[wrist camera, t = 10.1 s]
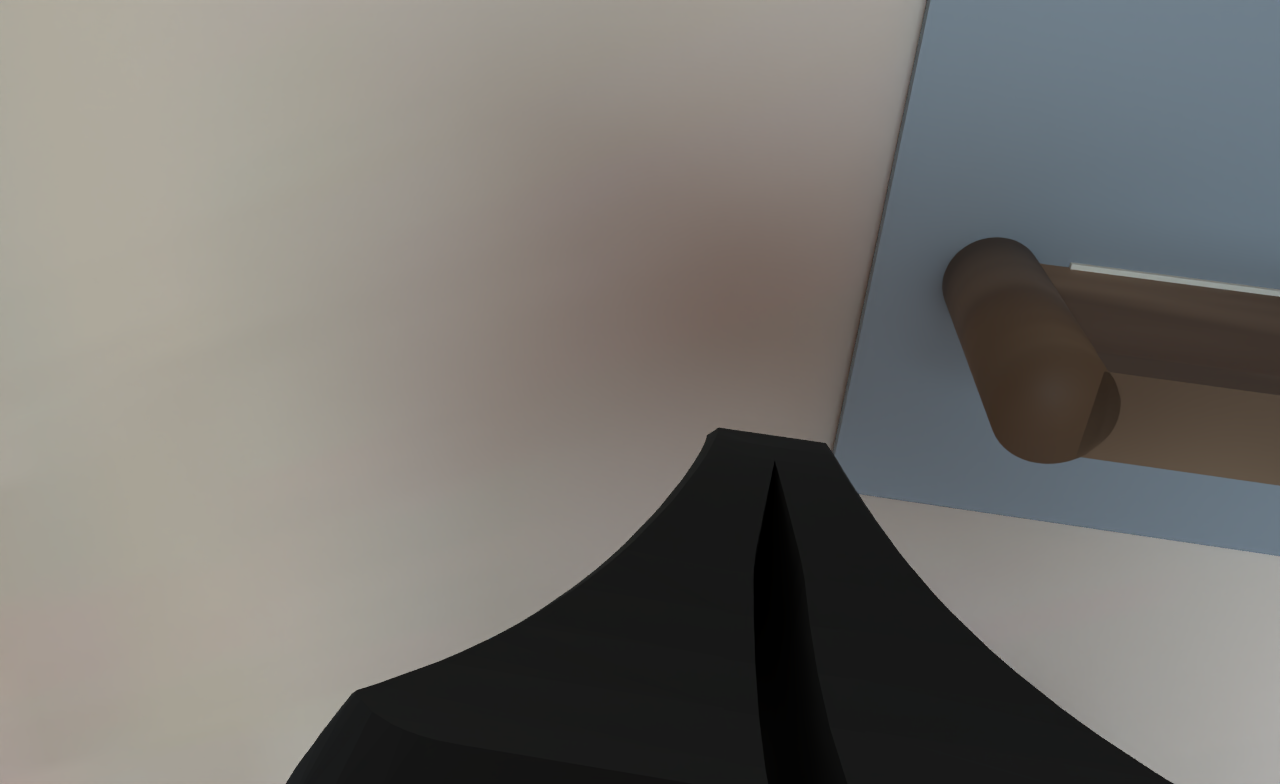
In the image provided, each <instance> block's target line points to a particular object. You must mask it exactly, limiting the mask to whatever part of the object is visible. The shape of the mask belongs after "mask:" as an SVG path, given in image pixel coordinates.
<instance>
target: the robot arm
mask: <svg viewBox="0 0 1280 784" xmlns="http://www.w3.org/2000/svg"><path fill="white" fill-rule="evenodd" d="M286 784H1173V783H1172V782H1170V781H1168V780H1166V779H1165V778H1163V777H1162V776H1160V775H1158V774H1157V773H1155V772H1154V771H1152V770H1150V769H1149V768H1147V767H1146V766H1144V765H1143V764H1141V763H1140V762H1138V761H1137V760H1135V759H1134V758H1132V757H1131V756H1129V755H1128V754H1126V753H1125V752H1123V751H1122V750H1120V749H1119V748H1117V747H1116V746H1114V745H1113V744H1111V743H1110V742H1108V741H1107V740H1105V739H1104V738H1102V737H1100V736H1099V735H1098V734H1096V733H1095V732H1093V731H1092V730H1091V729H1089V728H1088V727H1086V726H1085V725H1084V724H1082V723H1081V722H1079V721H1078V720H1077V719H1075V718H1074V717H1073V716H1071V715H1070V714H1068V713H1067V712H1066V711H1064V710H1063V709H1062V708H1060V707H1059V706H1058V705H1056V704H1055V703H1054V702H1053V701H1051V700H1050V699H1049V698H1048V697H1046V696H1045V695H1044V694H1043V693H1041V692H1040V691H1039V690H1038V689H1036V688H1035V687H1034V686H1033V685H1031V684H1030V683H1029V682H1028V681H1026V680H1025V679H1024V678H1023V677H1021V676H1020V675H1019V674H1018V673H1016V672H1015V671H1014V670H1013V669H1012V668H1010V667H1009V666H1008V665H1007V664H1006V663H1005V662H1004V661H1002V660H1001V659H1000V658H999V657H998V656H997V655H996V654H994V653H993V652H992V651H991V650H990V649H989V648H988V647H987V646H986V645H985V644H984V643H983V642H982V641H981V640H979V639H978V638H977V637H976V636H975V635H974V634H973V633H972V632H971V631H970V630H969V629H968V628H967V627H966V626H965V625H964V624H963V623H962V622H961V621H960V620H959V619H958V618H957V617H956V616H955V615H954V614H953V613H952V612H951V611H950V610H949V609H948V608H947V607H946V606H945V605H944V604H943V603H942V602H941V601H940V600H939V599H938V598H937V597H936V595H935V594H934V593H933V592H932V591H931V590H930V589H929V587H928V586H927V585H926V584H925V583H924V582H923V580H922V579H921V578H920V577H919V576H918V575H917V573H916V572H915V571H914V570H913V569H912V568H911V566H910V565H909V564H908V563H907V562H906V560H905V559H904V558H903V557H902V555H901V554H900V553H899V551H898V550H897V549H896V547H895V546H894V545H893V543H892V542H891V540H890V539H889V538H888V536H887V535H886V534H885V532H884V531H883V529H882V528H881V527H880V525H879V524H878V523H877V521H876V520H875V518H874V517H873V515H872V514H871V512H870V511H869V510H868V508H867V507H866V505H865V504H864V502H863V500H862V499H861V497H860V496H859V494H858V493H857V491H856V490H855V488H854V487H853V485H852V483H851V482H850V480H849V479H848V477H847V475H846V474H845V472H844V470H843V469H842V467H841V465H840V464H839V462H838V460H837V459H836V457H835V456H834V454H833V453H832V451H831V450H830V448H829V447H828V446H827V444H826V443H821V442H814V441H807V440H800V439H793V438H786V437H779V436H772V435H766V434H759V433H752V432H745V431H738V430H731V429H724V428H717V429H716V430H714V431H713V432H711V433H710V434H708V435H707V438H706V441H705V444H704V446H703V448H702V450H701V452H700V453H699V455H698V457H697V458H696V460H695V462H694V463H693V465H692V466H691V468H690V469H689V470H688V472H687V473H686V475H685V476H684V478H683V479H682V480H681V482H680V483H679V484H678V485H677V487H676V488H675V489H674V490H673V492H672V493H671V494H670V495H669V497H668V498H667V499H666V500H665V501H664V503H663V504H662V505H661V506H660V508H659V509H658V510H657V511H656V512H655V513H654V514H653V515H652V516H651V517H650V518H649V520H648V521H647V522H646V523H645V524H644V525H643V526H642V527H641V528H640V529H639V530H638V531H637V532H636V533H635V534H634V535H633V536H632V537H631V538H630V539H629V540H628V541H627V542H626V543H625V544H624V545H623V546H622V547H621V548H620V549H619V550H618V551H617V552H615V553H614V554H613V555H612V556H611V557H610V558H609V559H608V560H607V561H605V562H604V563H603V564H602V565H601V566H599V567H598V568H597V569H596V570H595V571H593V572H592V573H591V574H590V575H588V576H587V577H586V578H585V579H583V580H582V581H581V582H579V583H578V584H577V585H576V586H574V587H573V588H571V589H570V590H569V591H567V592H566V593H564V594H563V595H561V596H560V597H558V598H557V599H555V600H554V601H553V602H551V603H550V604H548V605H547V606H545V607H544V608H542V609H541V610H539V611H538V612H536V613H535V614H533V615H532V616H530V617H528V618H527V619H525V620H523V621H522V622H520V623H518V624H517V625H515V626H513V627H511V628H509V629H508V630H506V631H504V632H502V633H500V634H498V635H496V636H494V637H492V638H490V639H488V640H486V641H484V642H482V643H480V644H477V645H475V646H473V647H471V648H469V649H467V650H465V651H462V652H460V653H458V654H456V655H453V656H451V657H448V658H446V659H444V660H441V661H439V662H436V663H433V664H431V665H428V666H425V667H422V668H420V669H417V670H414V671H411V672H409V673H406V674H403V675H400V676H397V677H395V678H392V679H389V680H386V681H384V682H381V683H378V684H375V685H372V686H369V687H366V688H362V689H359V690H357V691H355V692H354V693H352V694H351V696H350V697H349V698H348V699H347V701H346V702H345V703H344V704H343V706H342V707H341V708H340V709H339V711H338V712H337V713H336V715H335V716H334V717H333V718H332V720H331V721H330V722H329V724H328V725H327V726H326V728H325V729H324V730H323V731H322V733H321V734H320V735H319V737H318V738H317V740H316V741H315V743H314V744H313V745H312V747H311V748H310V749H309V751H308V752H307V753H306V754H305V756H304V757H303V758H302V760H301V761H300V762H299V764H298V765H297V767H296V768H295V770H294V771H293V773H292V775H291V776H290V778H289V779H288V781H287V783H286Z"/></svg>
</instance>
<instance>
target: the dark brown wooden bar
mask: <svg viewBox="0 0 1280 784" xmlns="http://www.w3.org/2000/svg"><path fill="white" fill-rule="evenodd" d="M942 291H943V296H944V300H945V303H946V305H947V308H948V311H949V314H950V316H951V319H952V322H953V324H954V327H955V330H956V333H957V335H958V338H959V341H960V344H961V346H962V349H963V352H964V354H965V357H966V360H967V363H968V365H969V368H970V371H971V373H972V376H973V379H974V382H975V384H976V387H977V390H978V392H979V395H980V398H981V401H982V403H983V406H984V409H985V412H986V414H987V417H988V420H989V422H990V425H991V428H992V430H993V433H994V435H995V437H996V438H997V440H998V441H999V443H1000V444H1001V445H1002V446H1003V447H1004V448H1005V449H1006V450H1007V451H1009V452H1010V453H1012V454H1013V455H1015V456H1017V457H1019V458H1021V459H1023V460H1026V461H1029V462H1034V463H1041V464H1056V463H1063V462H1067V461H1071V460H1074V459H1077V458H1080V457H1082V458H1089V459H1096V460H1103V461H1110V462H1117V463H1124V464H1131V465H1138V466H1145V467H1152V468H1159V469H1166V470H1173V471H1180V472H1187V473H1194V474H1201V475H1208V476H1215V477H1222V478H1229V479H1236V480H1243V481H1250V482H1257V483H1264V484H1271V485H1278V486H1280V297H1279V296H1271V295H1263V294H1256V293H1248V292H1241V291H1233V290H1225V289H1218V288H1210V287H1202V286H1195V285H1187V284H1180V283H1172V282H1164V281H1157V280H1149V279H1141V278H1134V277H1126V276H1118V275H1111V274H1103V273H1096V272H1088V271H1080V270H1073V269H1070V268H1069V267H1062V266H1055V265H1047V264H1040V263H1039V261H1038V260H1037V258H1036V257H1035V255H1034V254H1033V253H1032V252H1031V251H1030V250H1029V249H1028V248H1027V247H1026V246H1024V245H1023V244H1021V243H1019V242H1017V241H1015V240H1012V239H1008V238H1002V237H991V238H985V239H981V240H978V241H975V242H973V243H971V244H969V245H967V246H966V247H964V248H963V249H962V250H960V251H959V252H958V253H957V254H956V255H955V256H954V257H953V259H952V260H951V261H950V263H949V264H948V266H947V268H946V270H945V273H944V276H943V282H942Z"/></svg>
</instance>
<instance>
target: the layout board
mask: <svg viewBox="0 0 1280 784" xmlns="http://www.w3.org/2000/svg"><path fill="white" fill-rule="evenodd" d="M991 237H1002V238H1008V239H1012V240H1015V241H1017V242H1019V243H1021V244H1023V245H1024V246H1026V247H1027V248H1028V249H1029V250H1030V251H1031V252H1032V253H1033V254H1034V255H1035V257H1036V258H1037V260H1038V261H1039V263H1040V264H1047V265H1055V266H1062V267H1069V268H1070V269H1073V270H1080V271H1088V272H1096V273H1103V274H1111V275H1118V276H1126V277H1134V278H1141V279H1149V280H1157V281H1164V282H1172V283H1180V284H1187V285H1195V286H1202V287H1210V288H1218V289H1225V290H1233V291H1241V292H1248V293H1256V294H1263V295H1271V296H1279V297H1280V0H927V4H926V8H925V13H924V18H923V23H922V28H921V32H920V37H919V42H918V47H917V51H916V56H915V61H914V66H913V71H912V75H911V80H910V85H909V90H908V95H907V99H906V104H905V109H904V114H903V118H902V123H901V128H900V133H899V138H898V142H897V147H896V152H895V157H894V162H893V166H892V171H891V176H890V181H889V185H888V190H887V195H886V200H885V205H884V209H883V214H882V219H881V224H880V229H879V233H878V238H877V243H876V248H875V253H874V257H873V262H872V267H871V272H870V276H869V281H868V286H867V291H866V296H865V300H864V305H863V310H862V315H861V320H860V324H859V329H858V334H857V339H856V343H855V348H854V353H853V358H852V363H851V367H850V372H849V377H848V382H847V387H846V391H845V396H844V401H843V406H842V410H841V415H840V420H839V425H838V430H837V434H836V439H835V444H834V449H833V454H834V456H835V457H836V459H837V460H838V462H839V464H840V465H841V467H842V469H843V470H844V472H845V474H846V475H847V477H848V479H849V480H850V482H851V483H852V485H853V487H854V488H855V490H856V491H857V493H858V494H862V495H869V496H876V497H882V498H889V499H896V500H903V501H910V502H916V503H923V504H930V505H937V506H943V507H950V508H957V509H964V510H971V511H977V512H984V513H991V514H998V515H1004V516H1011V517H1018V518H1025V519H1032V520H1038V521H1045V522H1052V523H1059V524H1065V525H1072V526H1079V527H1086V528H1093V529H1099V530H1106V531H1113V532H1120V533H1127V534H1133V535H1140V536H1147V537H1154V538H1160V539H1167V540H1174V541H1181V542H1188V543H1194V544H1201V545H1208V546H1215V547H1221V548H1228V549H1235V550H1242V551H1249V552H1255V553H1262V554H1269V555H1276V556H1280V486H1278V485H1271V484H1264V483H1257V482H1250V481H1243V480H1236V479H1229V478H1222V477H1215V476H1208V475H1201V474H1194V473H1187V472H1180V471H1173V470H1166V469H1159V468H1152V467H1145V466H1138V465H1131V464H1124V463H1117V462H1110V461H1103V460H1096V459H1089V458H1082V457H1080V458H1077V459H1074V460H1071V461H1067V462H1063V463H1056V464H1041V463H1034V462H1029V461H1026V460H1023V459H1021V458H1019V457H1017V456H1015V455H1013V454H1012V453H1010V452H1009V451H1007V450H1006V449H1005V448H1004V447H1003V446H1002V445H1001V444H1000V443H999V441H998V440H997V438H996V437H995V435H994V433H993V430H992V428H991V425H990V422H989V420H988V417H987V414H986V412H985V409H984V406H983V403H982V401H981V398H980V395H979V392H978V390H977V387H976V384H975V382H974V379H973V376H972V373H971V371H970V368H969V365H968V363H967V360H966V357H965V354H964V352H963V349H962V346H961V344H960V341H959V338H958V335H957V333H956V330H955V327H954V324H953V322H952V319H951V316H950V314H949V311H948V308H947V305H946V303H945V300H944V296H943V291H942V282H943V276H944V273H945V270H946V268H947V266H948V264H949V263H950V261H951V260H952V259H953V257H954V256H955V255H956V254H957V253H958V252H959V251H960V250H962V249H963V248H964V247H966V246H967V245H969V244H971V243H973V242H975V241H978V240H981V239H985V238H991Z"/></svg>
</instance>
